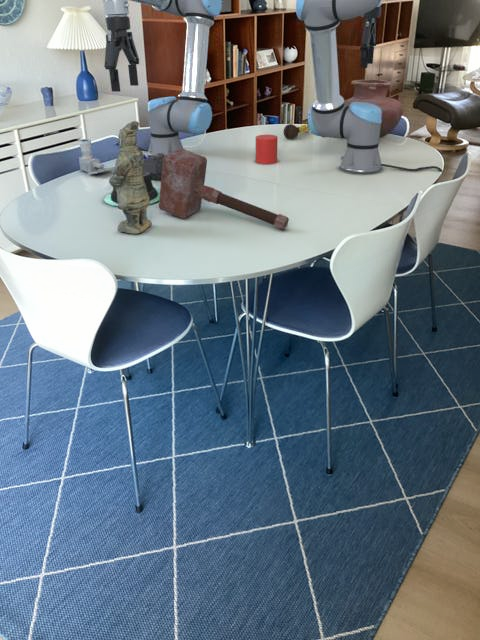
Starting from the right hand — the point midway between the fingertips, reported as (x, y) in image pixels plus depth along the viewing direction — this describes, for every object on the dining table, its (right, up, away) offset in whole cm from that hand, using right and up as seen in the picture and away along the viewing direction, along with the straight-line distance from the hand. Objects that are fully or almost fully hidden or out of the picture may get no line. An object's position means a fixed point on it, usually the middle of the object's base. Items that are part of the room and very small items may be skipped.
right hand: (366, 65), depth 227 cm
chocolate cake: (-88, -63, -40) cm, 115 cm away
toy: (-85, -51, -21) cm, 102 cm away
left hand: (-90, -27, -42) cm, 103 cm away
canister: (-41, -40, -3) cm, 58 cm away
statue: (-83, -78, -66) cm, 131 cm away
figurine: (-23, -16, +37) cm, 46 cm away
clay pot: (+5, -22, +26) cm, 34 cm away
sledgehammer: (-57, -75, -61) cm, 112 cm away
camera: (-108, -48, -13) cm, 119 cm away
